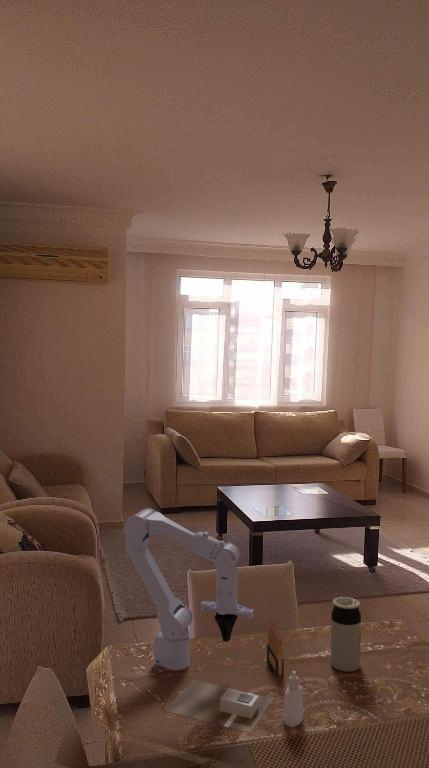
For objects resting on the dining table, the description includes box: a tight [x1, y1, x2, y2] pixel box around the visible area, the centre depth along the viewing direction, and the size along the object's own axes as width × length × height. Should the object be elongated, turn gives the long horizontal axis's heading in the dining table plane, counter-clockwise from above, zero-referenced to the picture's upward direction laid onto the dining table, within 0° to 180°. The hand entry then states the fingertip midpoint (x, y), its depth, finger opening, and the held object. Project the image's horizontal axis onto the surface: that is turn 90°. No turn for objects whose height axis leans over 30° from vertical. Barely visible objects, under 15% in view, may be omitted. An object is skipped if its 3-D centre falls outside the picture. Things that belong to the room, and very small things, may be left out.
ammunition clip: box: [266, 619, 285, 676], centre depth 180 cm, size 11×2×12 cm, turn 10°
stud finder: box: [220, 688, 259, 718], centre depth 158 cm, size 8×5×3 cm, turn 66°
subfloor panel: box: [164, 679, 274, 734], centre depth 161 cm, size 22×16×1 cm
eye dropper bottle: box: [283, 670, 304, 728], centre depth 155 cm, size 4×6×12 cm
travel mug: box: [330, 596, 362, 673], centre depth 182 cm, size 8×8×18 cm
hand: (226, 640), depth 177 cm, fingers closed
